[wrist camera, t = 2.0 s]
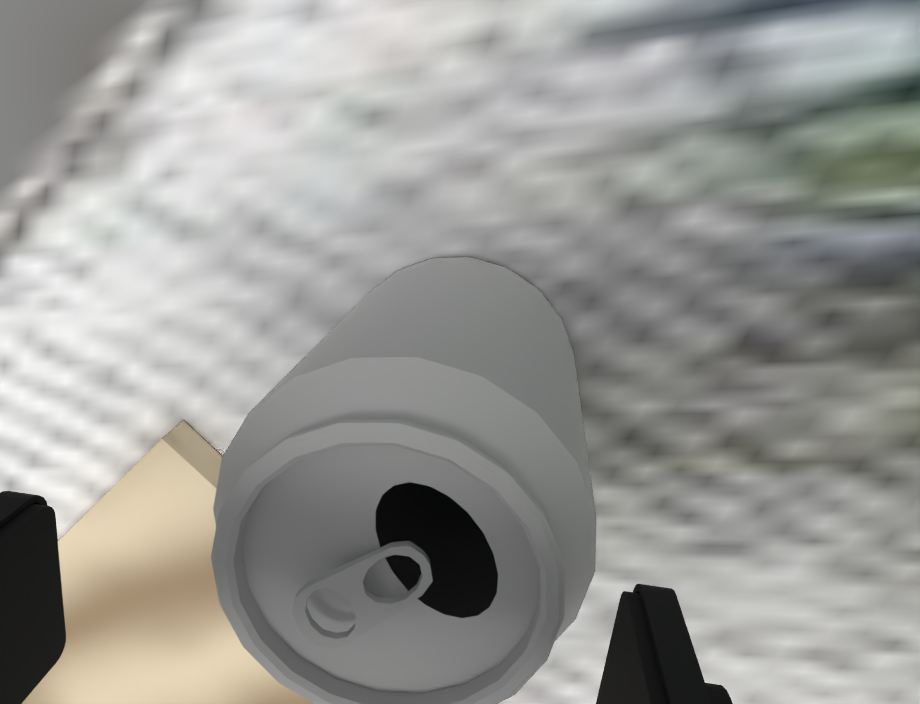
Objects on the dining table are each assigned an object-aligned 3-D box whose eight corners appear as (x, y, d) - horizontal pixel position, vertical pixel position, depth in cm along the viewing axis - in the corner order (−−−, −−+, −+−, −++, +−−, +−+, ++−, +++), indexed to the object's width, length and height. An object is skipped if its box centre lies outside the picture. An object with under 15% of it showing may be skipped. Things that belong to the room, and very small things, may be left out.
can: (613, 408, 23) (683, 688, 12) (421, 496, 25) (319, 811, 14) (504, 207, 21) (463, 306, 10) (307, 317, 23) (83, 506, 12)
